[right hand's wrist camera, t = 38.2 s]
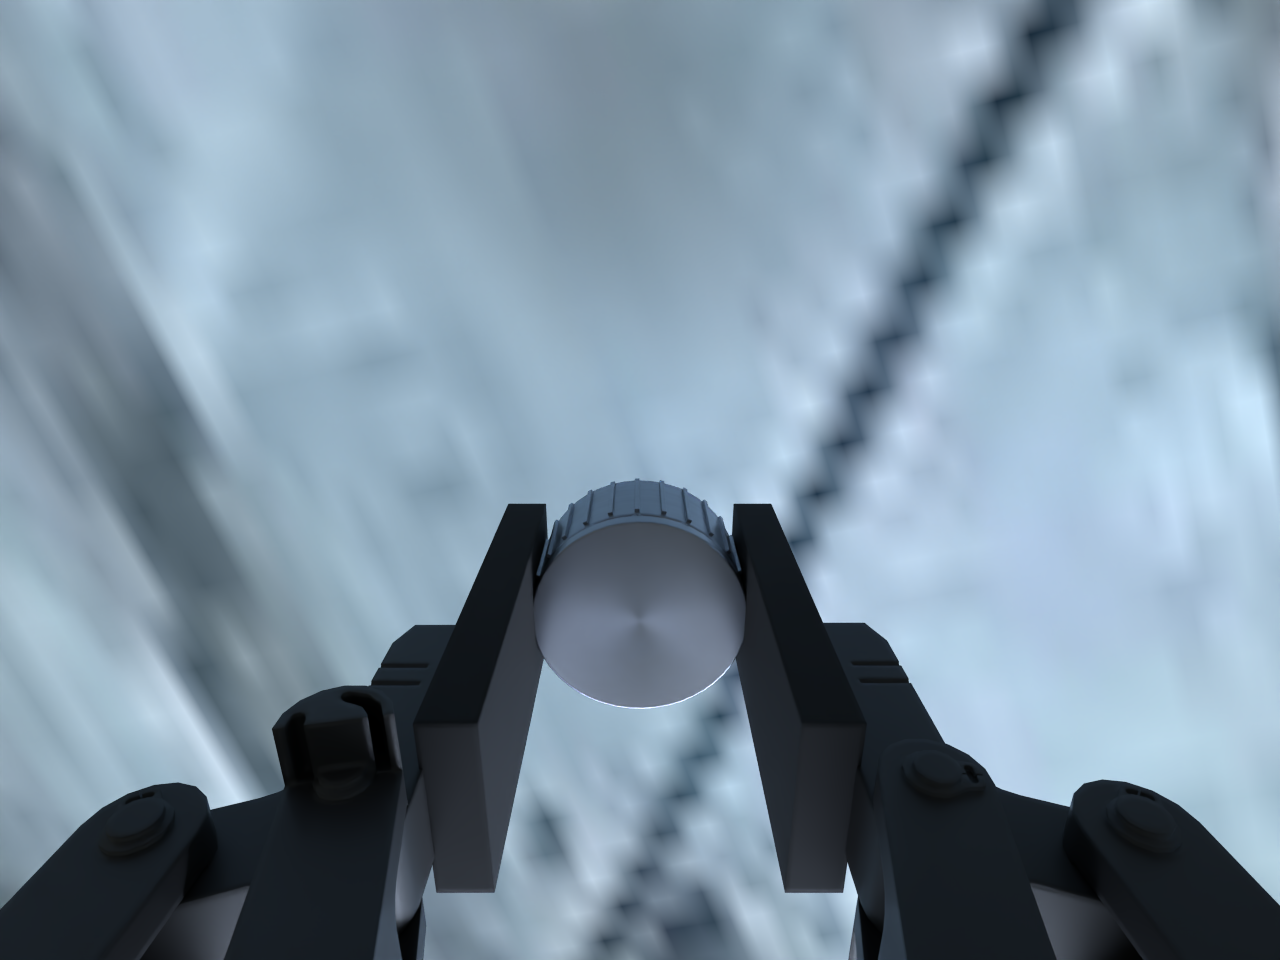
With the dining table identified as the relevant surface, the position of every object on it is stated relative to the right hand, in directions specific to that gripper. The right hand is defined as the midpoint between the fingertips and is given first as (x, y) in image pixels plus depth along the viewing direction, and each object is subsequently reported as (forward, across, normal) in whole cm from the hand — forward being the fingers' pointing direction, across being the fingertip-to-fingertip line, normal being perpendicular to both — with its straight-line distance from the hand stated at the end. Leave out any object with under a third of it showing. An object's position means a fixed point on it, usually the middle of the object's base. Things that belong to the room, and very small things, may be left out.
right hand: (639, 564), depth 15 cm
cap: (-2, 0, 0) cm, 2 cm away
